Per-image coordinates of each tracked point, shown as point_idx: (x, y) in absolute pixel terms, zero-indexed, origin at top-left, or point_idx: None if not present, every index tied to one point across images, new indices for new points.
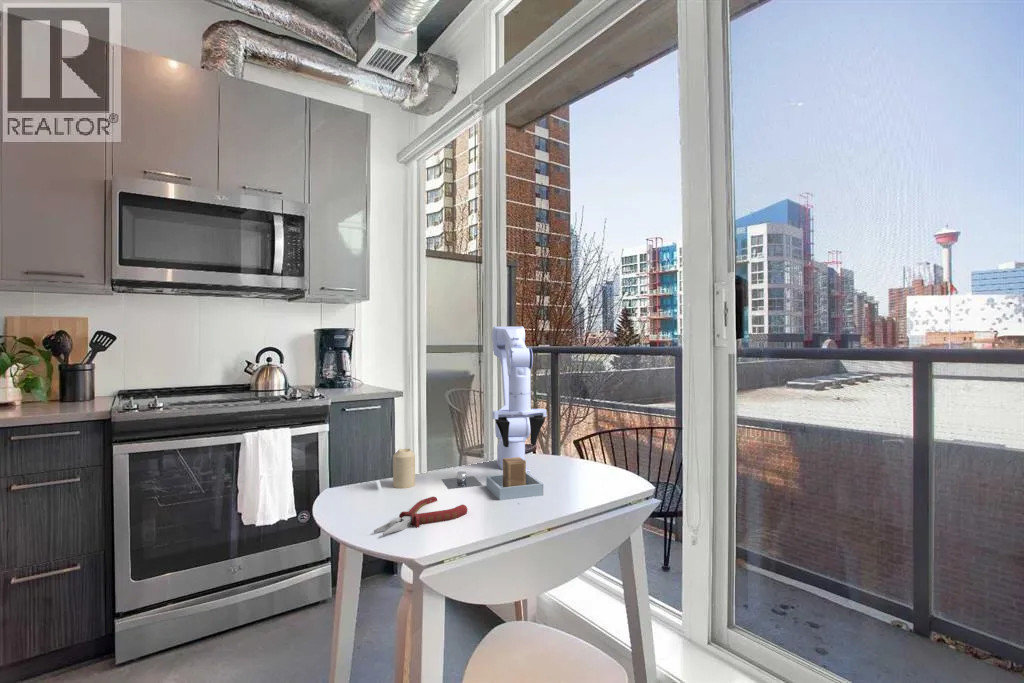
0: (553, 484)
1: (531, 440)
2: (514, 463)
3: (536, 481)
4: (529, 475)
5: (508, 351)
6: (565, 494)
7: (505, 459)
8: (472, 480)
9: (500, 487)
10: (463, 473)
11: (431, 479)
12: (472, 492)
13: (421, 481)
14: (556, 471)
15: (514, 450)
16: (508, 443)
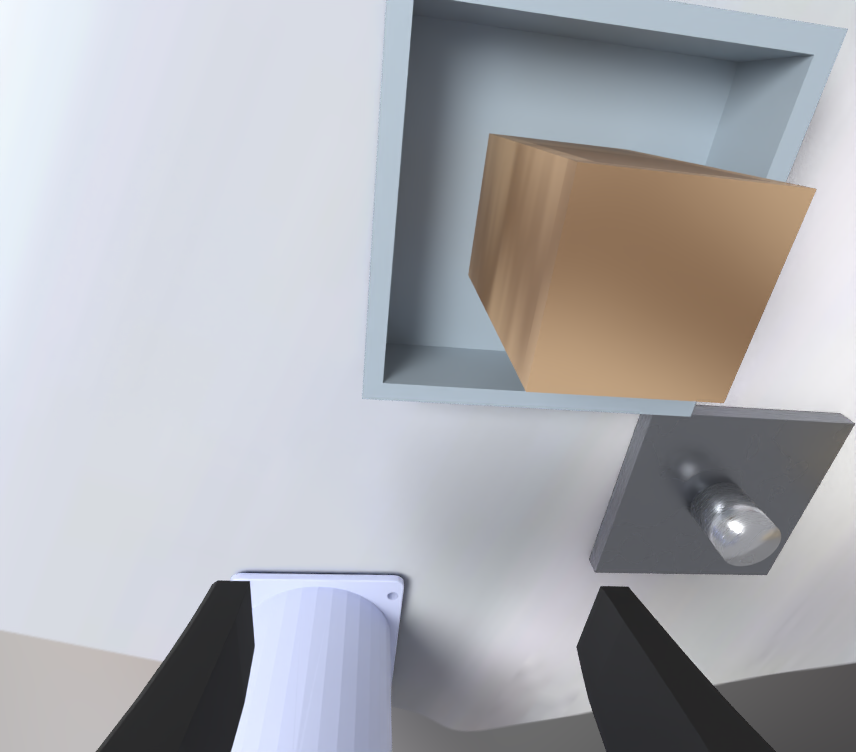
0: (161, 306)
1: (242, 680)
2: (727, 176)
3: (404, 112)
4: (384, 308)
5: None
6: (145, 5)
7: (730, 354)
8: (647, 511)
9: (815, 65)
10: (752, 529)
11: (761, 609)
12: None
13: (816, 597)
14: (47, 544)
15: (320, 723)
16: (624, 621)
